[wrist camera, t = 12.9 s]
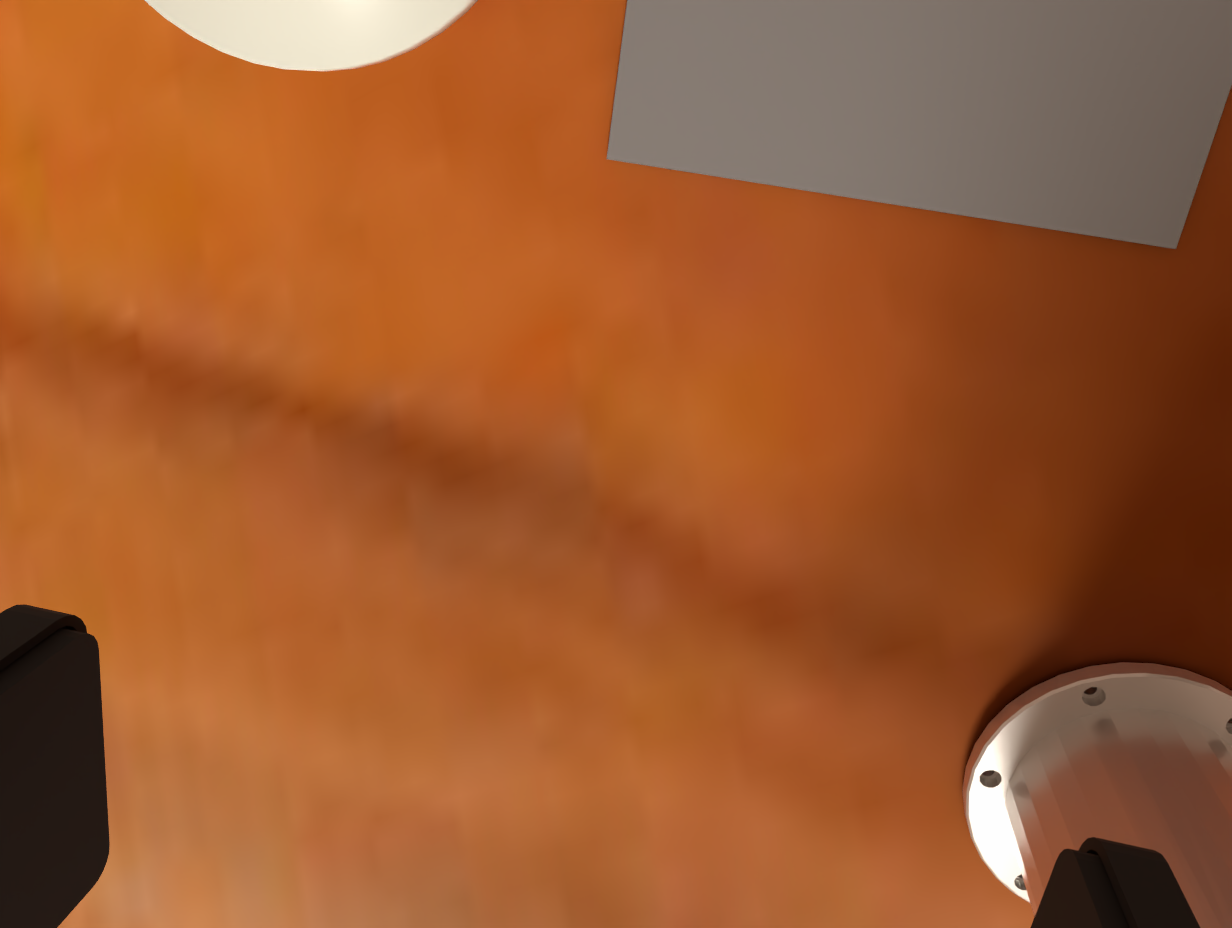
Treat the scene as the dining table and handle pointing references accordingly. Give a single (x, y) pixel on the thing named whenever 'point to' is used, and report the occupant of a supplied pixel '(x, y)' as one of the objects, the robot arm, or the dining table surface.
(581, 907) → the dining table surface
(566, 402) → the dining table surface
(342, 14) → the lid
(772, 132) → the mat
